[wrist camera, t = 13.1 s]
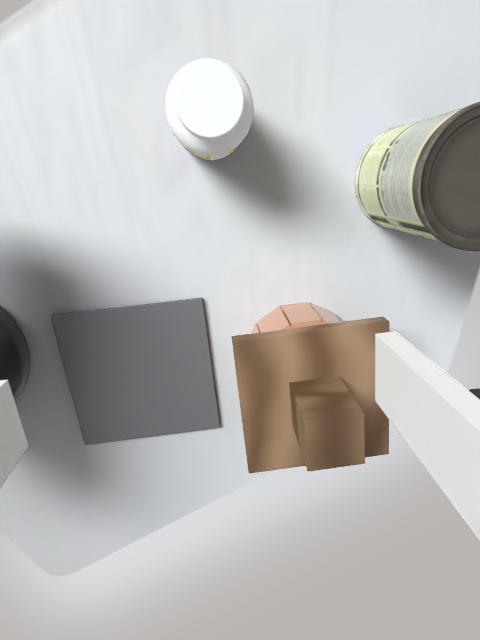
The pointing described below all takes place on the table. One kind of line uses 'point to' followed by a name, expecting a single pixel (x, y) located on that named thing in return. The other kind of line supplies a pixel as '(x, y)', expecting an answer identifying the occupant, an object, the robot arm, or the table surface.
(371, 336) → the walnut lid
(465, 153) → the coffee can
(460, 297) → the table surface
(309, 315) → the terracotta bowl
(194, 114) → the supplement bottle
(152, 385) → the rubber mat
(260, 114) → the table surface
